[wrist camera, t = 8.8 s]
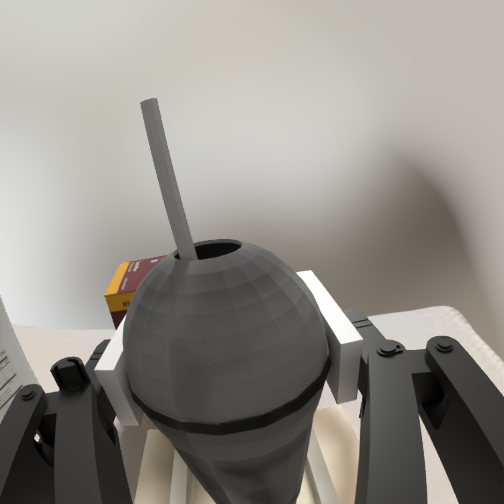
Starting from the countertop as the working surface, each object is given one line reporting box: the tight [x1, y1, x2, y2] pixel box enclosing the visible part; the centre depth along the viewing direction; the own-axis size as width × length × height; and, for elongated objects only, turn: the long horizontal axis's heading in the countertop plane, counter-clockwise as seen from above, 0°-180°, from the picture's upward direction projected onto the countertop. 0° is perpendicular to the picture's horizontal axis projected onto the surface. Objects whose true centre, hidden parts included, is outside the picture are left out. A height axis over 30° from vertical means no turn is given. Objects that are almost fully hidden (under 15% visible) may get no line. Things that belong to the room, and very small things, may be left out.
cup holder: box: [134, 405, 360, 504], centre depth 18 cm, size 20×18×4 cm
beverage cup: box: [122, 98, 332, 504], centre depth 11 cm, size 7×7×20 cm
